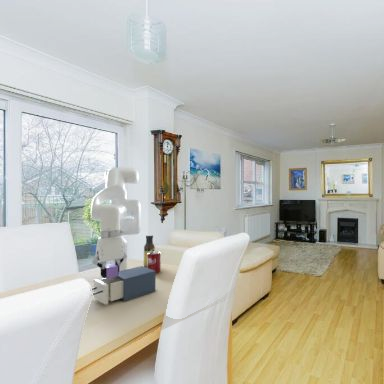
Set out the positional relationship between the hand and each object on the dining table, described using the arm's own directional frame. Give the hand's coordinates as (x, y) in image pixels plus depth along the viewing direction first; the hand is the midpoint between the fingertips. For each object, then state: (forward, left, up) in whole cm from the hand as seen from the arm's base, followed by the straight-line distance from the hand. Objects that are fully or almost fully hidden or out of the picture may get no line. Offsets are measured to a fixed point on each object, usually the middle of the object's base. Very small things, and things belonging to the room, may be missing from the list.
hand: (110, 275), depth 113 cm
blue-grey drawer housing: (0, +11, -11) cm, 15 cm away
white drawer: (0, 0, -10) cm, 10 cm away
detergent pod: (0, 0, 0) cm, 0 cm away
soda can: (-18, +32, -11) cm, 38 cm away
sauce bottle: (-30, +36, -11) cm, 48 cm away
